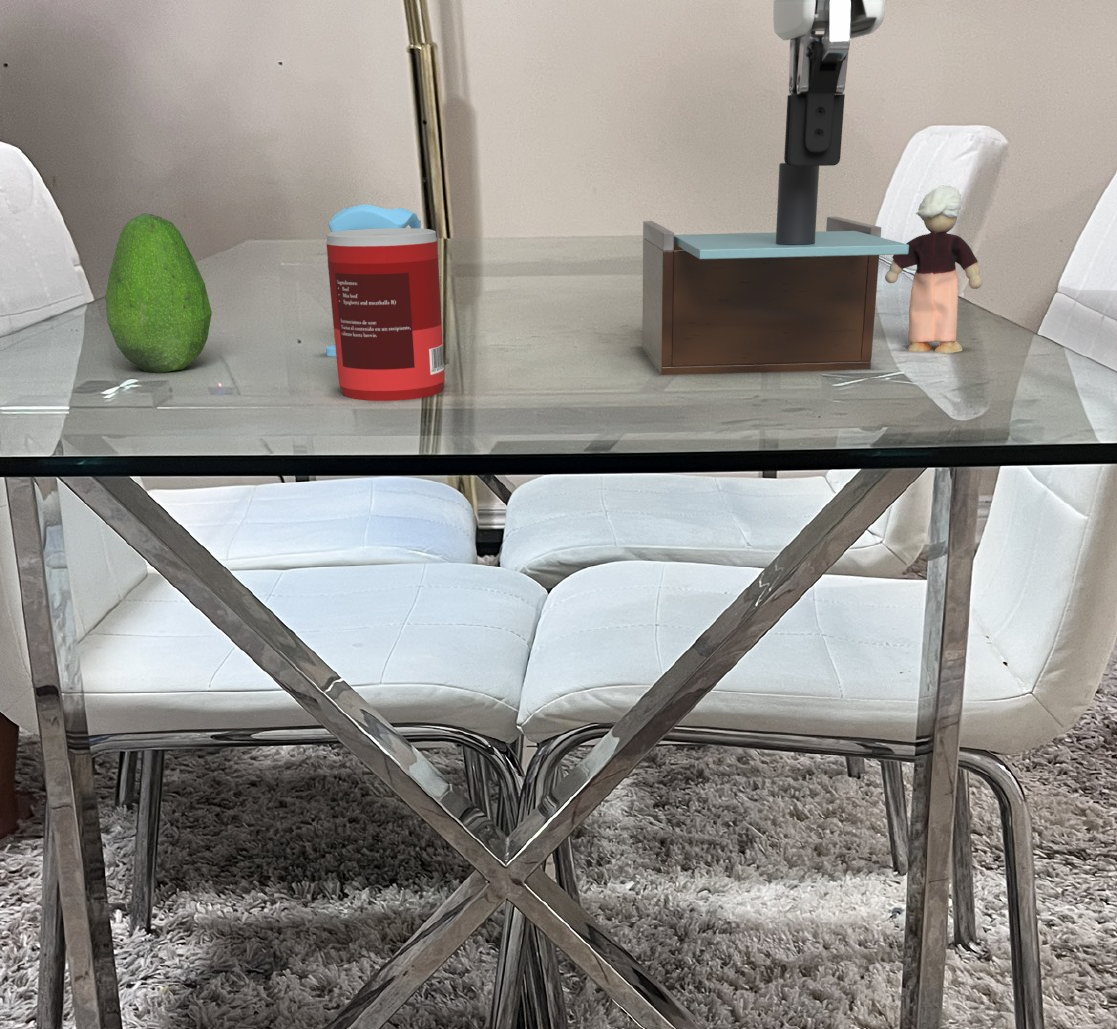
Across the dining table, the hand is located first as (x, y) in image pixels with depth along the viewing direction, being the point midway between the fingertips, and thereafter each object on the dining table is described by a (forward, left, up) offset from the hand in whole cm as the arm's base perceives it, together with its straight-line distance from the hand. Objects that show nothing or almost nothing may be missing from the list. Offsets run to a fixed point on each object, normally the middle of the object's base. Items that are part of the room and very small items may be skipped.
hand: (811, 164), depth 84 cm
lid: (0, -8, -6) cm, 10 cm away
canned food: (+28, -8, -15) cm, 33 cm away
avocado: (+47, -21, -15) cm, 54 cm away
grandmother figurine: (-15, -21, -15) cm, 30 cm away
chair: (+30, -29, -15) cm, 44 cm away
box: (0, -19, -15) cm, 24 cm away
